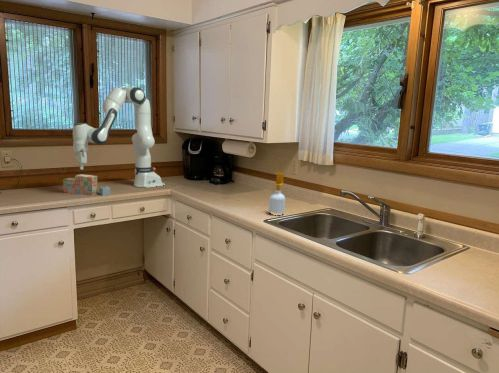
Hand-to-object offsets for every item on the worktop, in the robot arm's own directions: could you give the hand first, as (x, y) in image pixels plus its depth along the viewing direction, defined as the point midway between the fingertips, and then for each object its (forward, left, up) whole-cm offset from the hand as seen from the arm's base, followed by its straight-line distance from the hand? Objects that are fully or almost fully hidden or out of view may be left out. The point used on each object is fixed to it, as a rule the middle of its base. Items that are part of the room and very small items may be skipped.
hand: (81, 169), depth 254 cm
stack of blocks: (+1, 0, -16) cm, 16 cm away
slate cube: (-12, +9, -16) cm, 22 cm away
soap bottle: (-89, +96, -16) cm, 132 cm away
